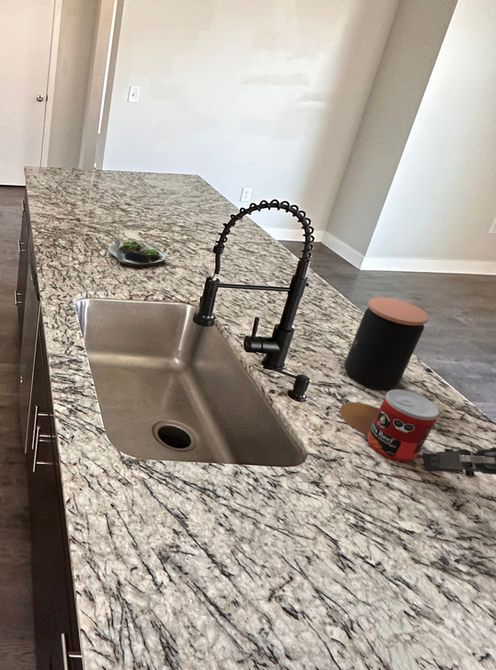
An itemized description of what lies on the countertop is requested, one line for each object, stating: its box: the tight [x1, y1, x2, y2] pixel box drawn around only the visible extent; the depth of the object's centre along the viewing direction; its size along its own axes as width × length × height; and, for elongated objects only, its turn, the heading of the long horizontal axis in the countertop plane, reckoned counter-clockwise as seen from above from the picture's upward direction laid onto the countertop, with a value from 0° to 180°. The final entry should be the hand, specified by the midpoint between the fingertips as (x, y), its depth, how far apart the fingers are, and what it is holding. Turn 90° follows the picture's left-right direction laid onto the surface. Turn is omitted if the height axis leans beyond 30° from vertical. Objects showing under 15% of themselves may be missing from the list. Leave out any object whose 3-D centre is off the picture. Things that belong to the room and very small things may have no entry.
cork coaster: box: [339, 402, 380, 436], centre depth 109 cm, size 11×11×1 cm
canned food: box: [367, 389, 440, 463], centre depth 100 cm, size 8×8×11 cm
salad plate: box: [108, 239, 166, 269], centre depth 179 cm, size 19×18×5 cm
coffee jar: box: [344, 296, 430, 391], centre depth 119 cm, size 11×11×18 cm
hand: (427, 462), depth 93 cm, fingers closed
